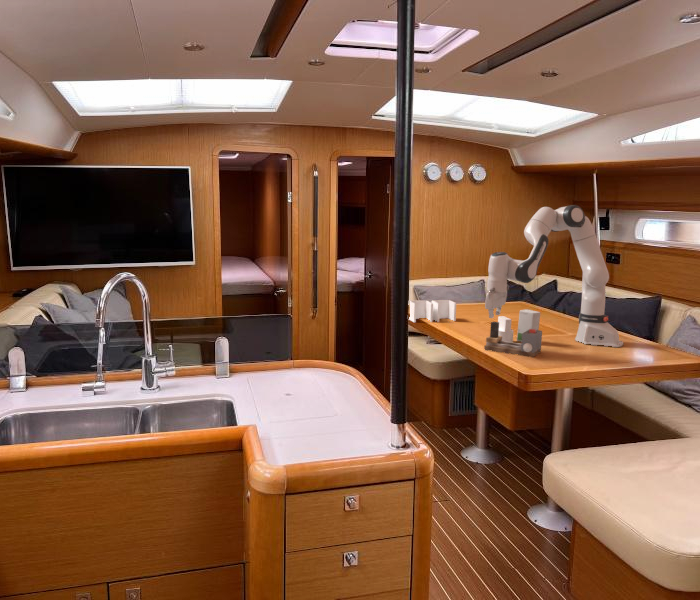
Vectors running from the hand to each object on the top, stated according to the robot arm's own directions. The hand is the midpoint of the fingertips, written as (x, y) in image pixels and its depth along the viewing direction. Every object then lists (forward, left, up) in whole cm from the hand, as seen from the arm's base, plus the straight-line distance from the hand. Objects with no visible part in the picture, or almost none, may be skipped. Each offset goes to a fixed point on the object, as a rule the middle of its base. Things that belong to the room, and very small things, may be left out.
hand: (494, 316), depth 292 cm
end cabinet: (-18, 0, -15) cm, 24 cm away
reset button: (-18, 0, -7) cm, 19 cm away
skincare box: (-10, -24, -16) cm, 30 cm away
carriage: (-1, 0, -12) cm, 12 cm away
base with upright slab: (0, -17, -16) cm, 23 cm away
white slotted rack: (+51, -47, -16) cm, 71 cm away
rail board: (-10, 0, -15) cm, 18 cm away
